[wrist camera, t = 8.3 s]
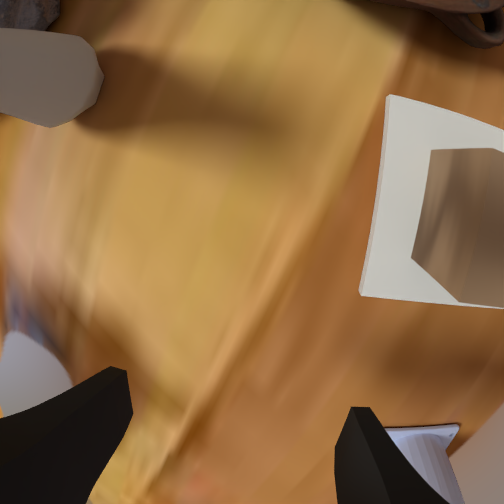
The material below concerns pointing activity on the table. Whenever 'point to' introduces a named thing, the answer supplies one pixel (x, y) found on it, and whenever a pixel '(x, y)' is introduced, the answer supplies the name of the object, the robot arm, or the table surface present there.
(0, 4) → the perforated stone tool
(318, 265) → the table surface
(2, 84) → the salt shaker
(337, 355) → the table surface
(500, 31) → the dish
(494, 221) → the walnut cube
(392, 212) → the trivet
